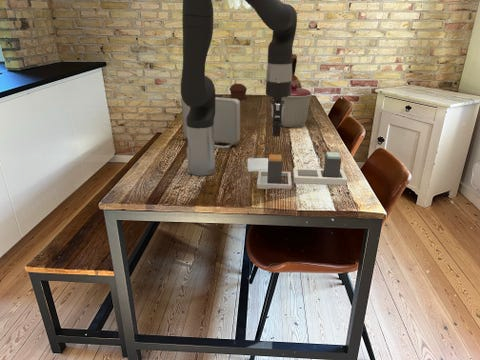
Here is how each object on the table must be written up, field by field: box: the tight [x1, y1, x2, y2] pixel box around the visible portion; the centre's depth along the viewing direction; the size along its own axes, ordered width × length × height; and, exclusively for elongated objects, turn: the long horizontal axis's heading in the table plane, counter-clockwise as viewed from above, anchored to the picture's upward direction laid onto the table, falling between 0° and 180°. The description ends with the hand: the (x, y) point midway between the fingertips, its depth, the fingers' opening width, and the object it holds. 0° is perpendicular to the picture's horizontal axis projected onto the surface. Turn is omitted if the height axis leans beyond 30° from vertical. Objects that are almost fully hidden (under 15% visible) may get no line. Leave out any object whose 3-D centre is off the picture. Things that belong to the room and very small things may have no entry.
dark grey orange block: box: [267, 153, 283, 184], centre depth 117 cm, size 4×4×9 cm
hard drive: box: [246, 157, 268, 173], centre depth 132 cm, size 2×8×12 cm
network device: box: [180, 96, 241, 149], centre depth 152 cm, size 26×9×20 cm, turn 68°
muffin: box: [229, 83, 248, 102], centre depth 236 cm, size 12×11×10 cm
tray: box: [256, 171, 292, 190], centre depth 118 cm, size 11×11×2 cm
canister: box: [281, 83, 313, 129], centre depth 178 cm, size 18×18×21 cm
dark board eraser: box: [323, 151, 342, 178], centre depth 118 cm, size 4×4×9 cm
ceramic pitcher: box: [271, 53, 303, 100], centre depth 223 cm, size 20×20×30 cm
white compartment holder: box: [292, 167, 348, 186], centre depth 120 cm, size 17×8×3 cm, turn 84°
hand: (276, 131), depth 111 cm, fingers open, 8 cm apart
